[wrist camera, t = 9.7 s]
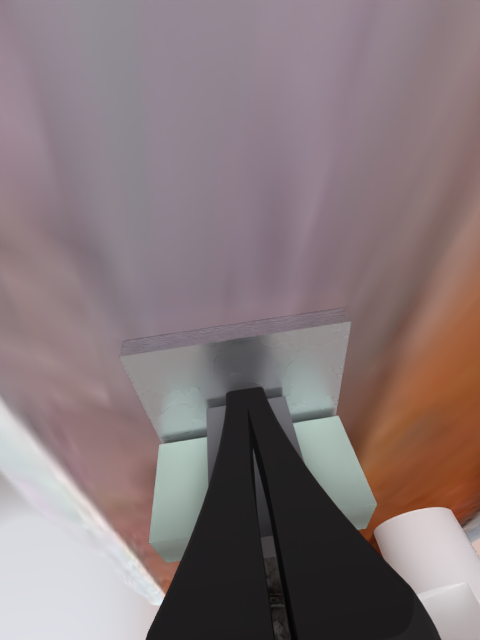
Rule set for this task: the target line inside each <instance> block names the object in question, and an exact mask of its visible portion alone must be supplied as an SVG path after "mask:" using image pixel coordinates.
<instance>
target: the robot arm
mask: <svg viewBox="0 0 480 640" xmlns="http://www.w3.org/2000/svg"><path fill="white" fill-rule="evenodd" d="M253 450H254V454H255V458H256V462H257V466H258V470H259V474H260V478H261V482H262V486H263V490H264V494H265V499H266V503H267V507H268V511H269V516H270V521H271V527H272V533H273V539H274V545H275V551H276V557H277V564H278V570H279V576H280V582H281V588H282V594H283V600H284V606H285V612H286V619H287V625H288V631H289V637H290V640H441V638H440V635H439V633H438V630H437V628H436V626H435V624H434V623H433V621H432V619H431V617H430V615H429V614H428V612H427V610H426V609H425V607H424V605H423V604H422V602H421V601H420V599H419V598H418V596H417V595H416V593H415V592H414V590H413V589H412V588H411V586H410V585H409V584H408V583H407V582H406V581H405V580H404V579H403V578H402V577H401V576H400V575H399V574H398V573H397V572H396V571H395V570H394V569H393V568H392V567H391V566H390V565H389V564H388V563H387V562H386V561H385V560H384V559H383V557H382V556H381V555H380V554H379V553H378V552H377V551H376V550H375V549H374V548H373V547H372V546H371V545H370V543H369V542H368V541H367V540H366V539H365V538H364V537H363V536H362V535H361V534H360V532H359V531H358V530H357V529H356V528H355V527H354V525H353V524H352V523H351V522H350V521H349V520H348V518H347V517H346V516H345V515H344V514H343V513H342V511H341V510H340V509H339V508H338V507H337V506H336V504H335V503H334V502H333V501H332V499H331V498H330V497H329V496H328V494H327V493H326V492H325V491H324V489H323V488H322V487H321V485H320V484H319V483H318V481H317V480H316V479H315V477H314V476H313V475H312V473H311V472H310V471H309V469H308V468H307V466H306V465H305V463H304V462H303V461H302V459H301V458H300V456H299V455H298V453H297V452H296V450H295V448H294V447H293V445H292V444H291V442H290V441H289V439H288V437H287V436H286V434H285V432H284V430H283V429H282V427H281V425H280V424H279V422H278V420H277V418H276V416H275V414H274V412H273V410H272V408H271V406H270V404H269V402H268V399H267V397H266V394H265V392H264V389H263V388H262V387H254V388H248V389H241V390H235V391H229V392H228V393H226V409H225V418H224V424H223V430H222V435H221V440H220V445H219V449H218V454H217V457H216V461H215V465H214V469H213V473H212V476H211V480H210V483H209V486H208V489H207V493H206V496H205V499H204V502H203V505H202V508H201V510H200V513H199V516H198V519H197V521H196V524H195V527H194V529H193V532H192V535H191V537H190V540H189V542H188V545H187V547H186V550H185V552H184V554H183V557H182V559H181V561H180V564H179V566H178V568H177V571H176V573H175V575H174V578H173V580H172V582H171V585H170V587H169V589H168V591H167V593H166V595H165V597H164V600H163V602H162V604H161V606H160V608H159V611H158V612H157V614H156V616H155V619H154V621H153V623H152V625H151V627H150V629H149V631H148V634H147V637H146V640H275V633H274V626H273V620H272V613H271V606H270V599H269V592H268V585H267V578H266V571H265V564H264V557H263V550H262V543H261V536H260V529H259V522H258V513H257V500H256V486H255V471H254V457H253Z"/></svg>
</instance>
